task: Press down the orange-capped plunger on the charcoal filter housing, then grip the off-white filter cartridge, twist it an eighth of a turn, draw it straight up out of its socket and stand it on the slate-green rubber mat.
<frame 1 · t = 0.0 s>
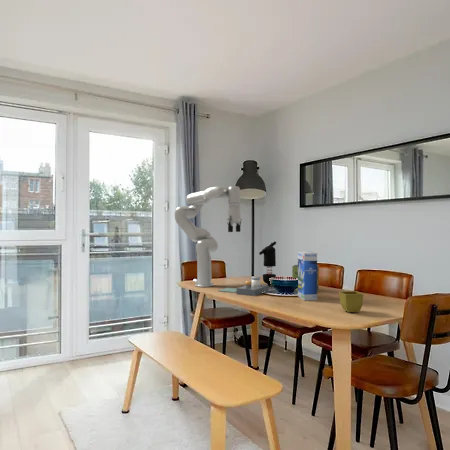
hand: (234, 231, 249), 37 cm above the table, tool pointing down, fingers open, 9 cm apart
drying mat: (231, 290, 241), on the table
string lights box: (307, 298, 213), on the table
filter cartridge: (255, 291, 237), resting in filter housing
flower pot: (351, 312, 180), on the table
release plunger: (248, 285, 229), point 5 cm above the table, slide at 0.0 cm
filter housing: (252, 292, 233), on the table
protein box: (305, 290, 240), on the table
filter: (267, 286, 258), on the table
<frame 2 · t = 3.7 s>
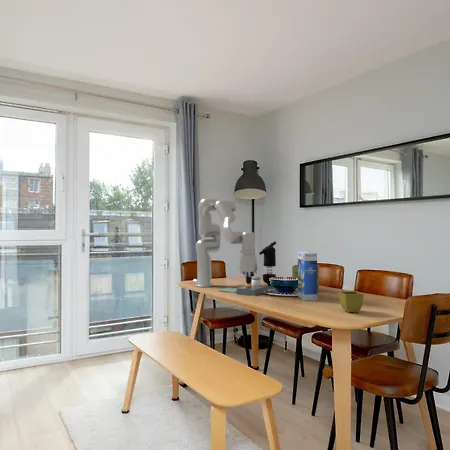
hand: (248, 283, 228), 6 cm above the table, tool pointing down, fingers closed
release plunger: (248, 288, 228), point 3 cm above the table, slide at 1.3 cm, touching gripper
everything else where it was.
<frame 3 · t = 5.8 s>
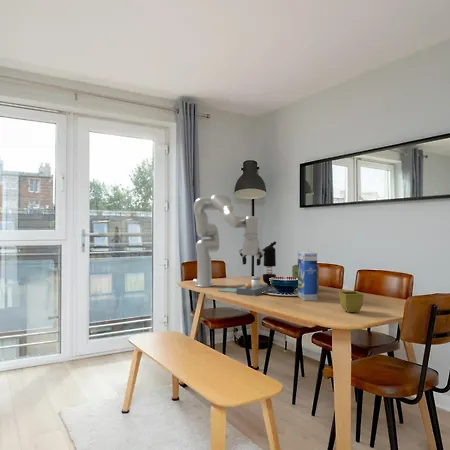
hand: (251, 264, 232), 17 cm above the table, tool pointing down, fingers open, 9 cm apart
release plunger: (248, 288, 228), point 3 cm above the table, slide at 1.5 cm
everything else where it was.
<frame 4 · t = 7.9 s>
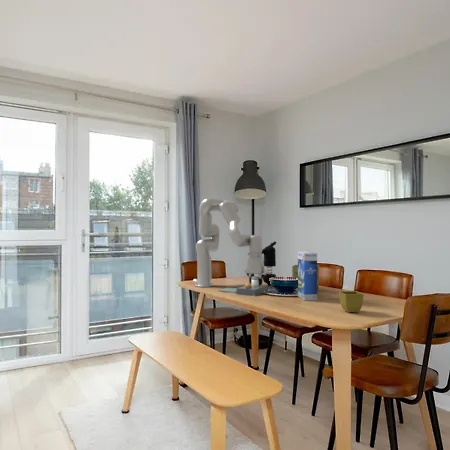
hand: (255, 284, 237), 5 cm above the table, tool pointing down, fingers closed on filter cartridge, 5 cm apart
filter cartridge: (255, 291, 237), resting in filter housing, touching gripper
everything else where it was.
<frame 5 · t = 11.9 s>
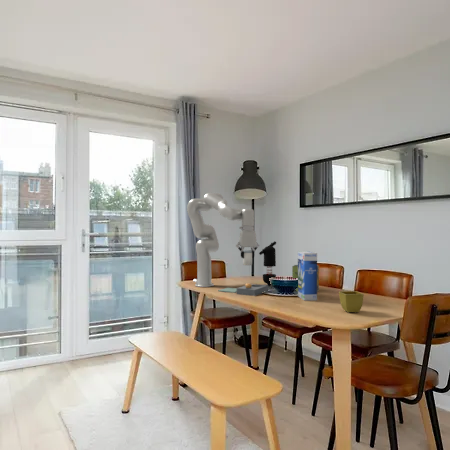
hand: (247, 257, 238), 21 cm above the table, tool pointing down, fingers closed on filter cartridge, 5 cm apart
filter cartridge: (247, 264, 238), point 16 cm above the table, touching gripper
everything else where it was.
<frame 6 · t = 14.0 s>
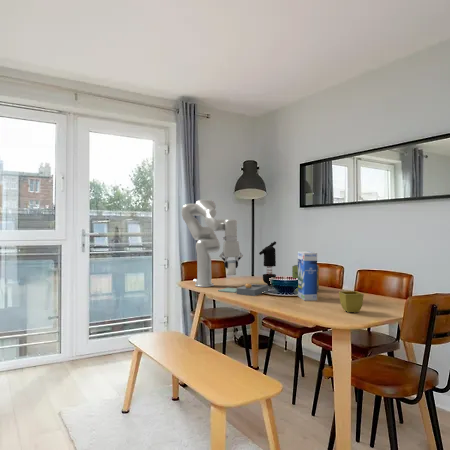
hand: (231, 267, 240), 14 cm above the table, tool pointing down, fingers closed on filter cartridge, 5 cm apart
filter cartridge: (231, 274, 240), point 10 cm above the table, touching gripper
everything else where it was.
when the fingers open (6 cm above the table, at t = 15.9 s): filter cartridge drops 1 cm, resting on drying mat.
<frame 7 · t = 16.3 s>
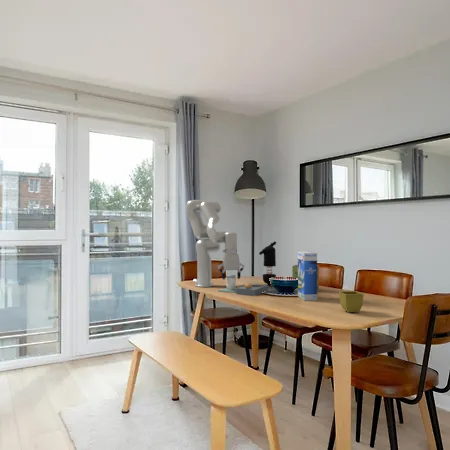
hand: (231, 279, 241), 7 cm above the table, tool pointing down, fingers open, 9 cm apart
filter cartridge: (231, 289, 241), point 1 cm above the table, touching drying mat
everything else where it was.
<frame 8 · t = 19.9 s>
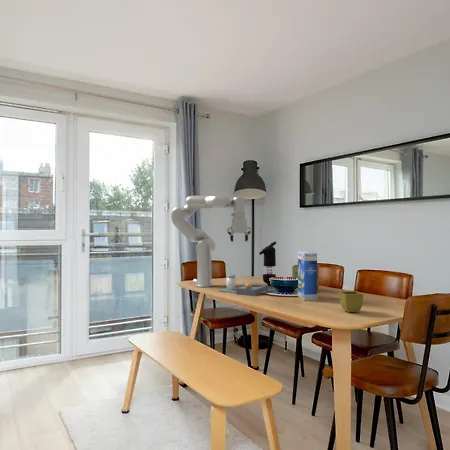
hand: (239, 241, 254), 30 cm above the table, tool pointing down, fingers open, 9 cm apart
nothing on the table moved.
at the end: release plunger slide at 1.5 cm; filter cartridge inside the target area (0.0 cm from its centre), point 0.7 cm above the table; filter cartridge tilted 1° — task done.
